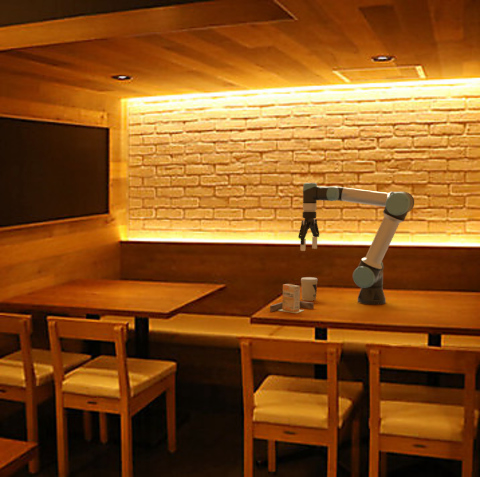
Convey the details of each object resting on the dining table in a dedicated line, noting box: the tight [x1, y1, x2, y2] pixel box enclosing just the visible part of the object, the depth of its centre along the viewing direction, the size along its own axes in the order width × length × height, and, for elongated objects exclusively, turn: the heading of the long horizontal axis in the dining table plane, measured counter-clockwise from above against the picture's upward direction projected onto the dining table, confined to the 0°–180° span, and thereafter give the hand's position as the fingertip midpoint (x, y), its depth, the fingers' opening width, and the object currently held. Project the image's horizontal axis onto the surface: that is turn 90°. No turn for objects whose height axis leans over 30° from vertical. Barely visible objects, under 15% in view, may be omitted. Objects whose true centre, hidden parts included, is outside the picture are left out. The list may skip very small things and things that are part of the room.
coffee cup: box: [300, 276, 319, 302], centre depth 383 cm, size 9×9×12 cm
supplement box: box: [282, 283, 301, 312], centre depth 351 cm, size 8×5×13 cm, turn 43°
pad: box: [277, 309, 305, 314], centre depth 352 cm, size 11×8×1 cm
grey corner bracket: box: [269, 300, 315, 313], centre depth 353 cm, size 14×20×3 cm
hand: (308, 249), depth 376 cm, fingers open, 13 cm apart
